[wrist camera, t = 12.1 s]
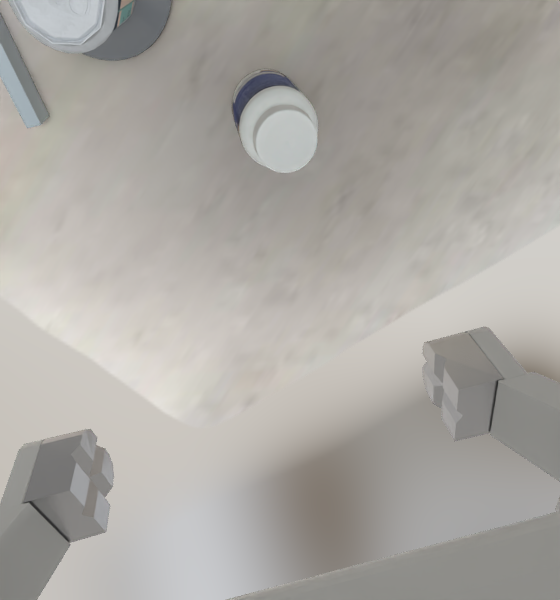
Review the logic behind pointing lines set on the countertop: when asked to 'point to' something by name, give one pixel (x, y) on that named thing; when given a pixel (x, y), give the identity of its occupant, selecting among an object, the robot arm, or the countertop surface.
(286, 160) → the pill bottle
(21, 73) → the divider wall
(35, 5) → the beer can
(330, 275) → the countertop surface
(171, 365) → the countertop surface
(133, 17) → the coaster
